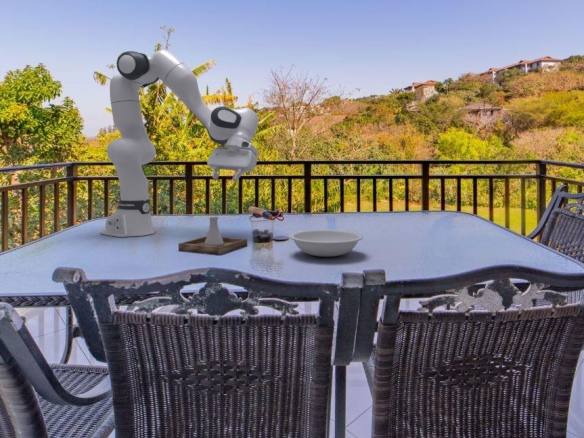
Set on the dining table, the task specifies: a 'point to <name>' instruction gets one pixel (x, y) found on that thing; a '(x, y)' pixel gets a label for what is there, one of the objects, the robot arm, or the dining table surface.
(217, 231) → the flask
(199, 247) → the walnut tray
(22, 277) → the dining table surface
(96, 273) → the dining table surface
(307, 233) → the soup bowl
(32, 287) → the dining table surface
